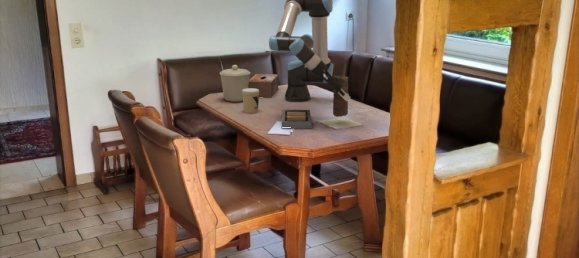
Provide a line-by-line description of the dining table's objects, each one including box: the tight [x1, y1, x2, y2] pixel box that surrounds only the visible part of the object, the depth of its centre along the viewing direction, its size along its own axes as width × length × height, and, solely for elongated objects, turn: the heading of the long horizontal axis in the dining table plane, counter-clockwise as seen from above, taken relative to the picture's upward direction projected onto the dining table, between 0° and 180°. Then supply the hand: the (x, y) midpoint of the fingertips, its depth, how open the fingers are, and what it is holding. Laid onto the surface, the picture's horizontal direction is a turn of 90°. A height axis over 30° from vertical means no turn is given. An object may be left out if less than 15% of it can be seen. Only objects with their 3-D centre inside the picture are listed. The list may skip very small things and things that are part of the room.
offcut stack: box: [287, 112, 306, 121], centre depth 278 cm, size 4×9×6 cm, turn 90°
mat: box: [318, 116, 364, 131], centre depth 282 cm, size 16×16×1 cm
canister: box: [219, 64, 251, 103], centre depth 329 cm, size 18×18×21 cm
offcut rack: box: [281, 109, 312, 130], centre depth 284 cm, size 24×14×4 cm, turn 0°
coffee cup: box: [242, 88, 260, 114], centre depth 304 cm, size 9×9×12 cm
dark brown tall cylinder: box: [332, 74, 349, 118], centre depth 277 cm, size 8×7×20 cm
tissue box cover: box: [248, 73, 279, 99], centre depth 349 cm, size 26×14×10 cm, turn 172°
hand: (347, 97), depth 277 cm, fingers closed on dark brown tall cylinder, 7 cm apart
